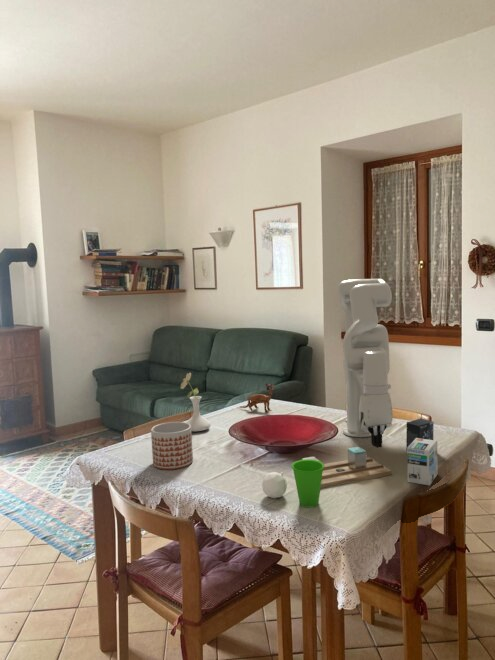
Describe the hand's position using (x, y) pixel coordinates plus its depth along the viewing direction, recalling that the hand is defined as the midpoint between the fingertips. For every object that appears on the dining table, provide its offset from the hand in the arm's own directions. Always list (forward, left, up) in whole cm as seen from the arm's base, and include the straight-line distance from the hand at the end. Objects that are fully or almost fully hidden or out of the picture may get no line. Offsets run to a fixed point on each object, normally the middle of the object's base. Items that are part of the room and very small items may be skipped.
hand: (376, 446), depth 168 cm
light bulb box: (+12, +8, -8) cm, 17 cm away
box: (-8, +22, -8) cm, 25 cm away
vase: (-34, -60, -8) cm, 69 cm away
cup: (+14, -31, -8) cm, 35 cm away
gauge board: (-1, -12, -7) cm, 14 cm away
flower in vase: (-68, -44, -8) cm, 81 cm away
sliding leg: (-1, -7, -6) cm, 9 cm away
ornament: (+6, -38, -8) cm, 39 cm away
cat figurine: (-85, -11, -8) cm, 86 cm away
